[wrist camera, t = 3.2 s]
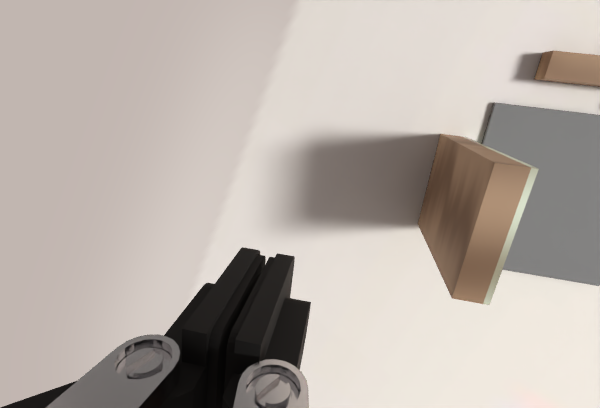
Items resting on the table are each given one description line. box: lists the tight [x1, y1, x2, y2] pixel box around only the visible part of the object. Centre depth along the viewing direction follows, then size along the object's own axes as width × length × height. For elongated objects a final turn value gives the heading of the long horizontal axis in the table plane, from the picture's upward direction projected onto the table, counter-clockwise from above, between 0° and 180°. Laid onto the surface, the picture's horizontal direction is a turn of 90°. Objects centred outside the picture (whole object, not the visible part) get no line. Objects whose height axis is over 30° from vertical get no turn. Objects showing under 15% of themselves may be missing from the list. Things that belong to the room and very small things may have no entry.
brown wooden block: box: [418, 134, 539, 305], centre depth 20 cm, size 7×2×10 cm, turn 174°
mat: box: [482, 103, 600, 286], centre depth 24 cm, size 12×11×1 cm
